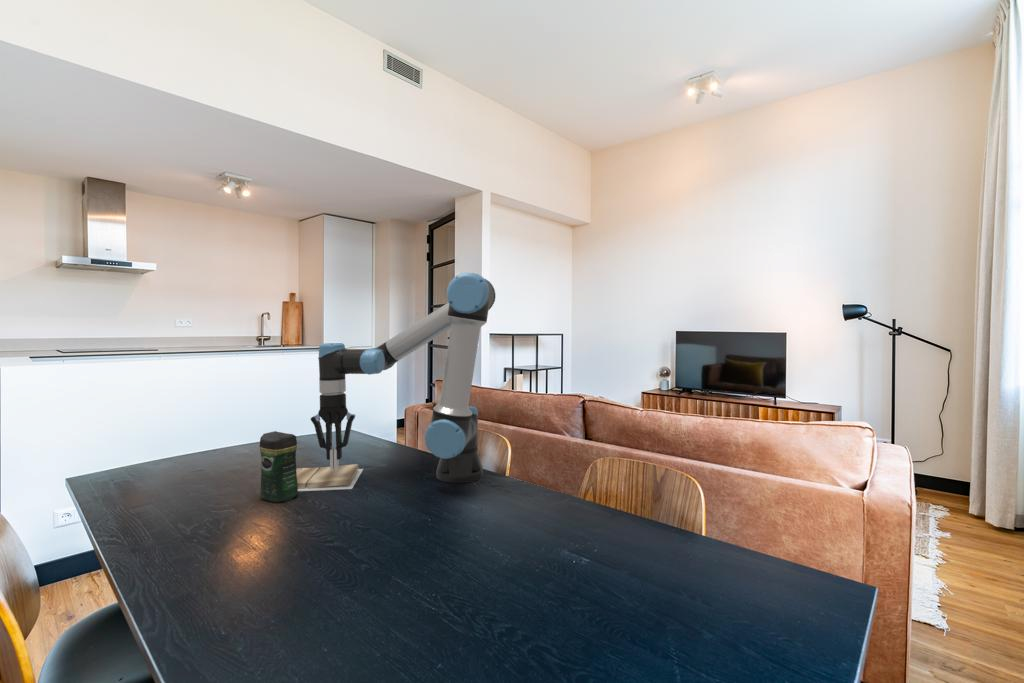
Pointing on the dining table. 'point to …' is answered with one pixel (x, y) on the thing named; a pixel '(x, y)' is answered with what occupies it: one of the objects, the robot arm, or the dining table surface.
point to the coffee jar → (278, 466)
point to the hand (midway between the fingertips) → (334, 469)
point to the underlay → (338, 485)
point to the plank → (333, 476)
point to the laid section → (304, 476)
